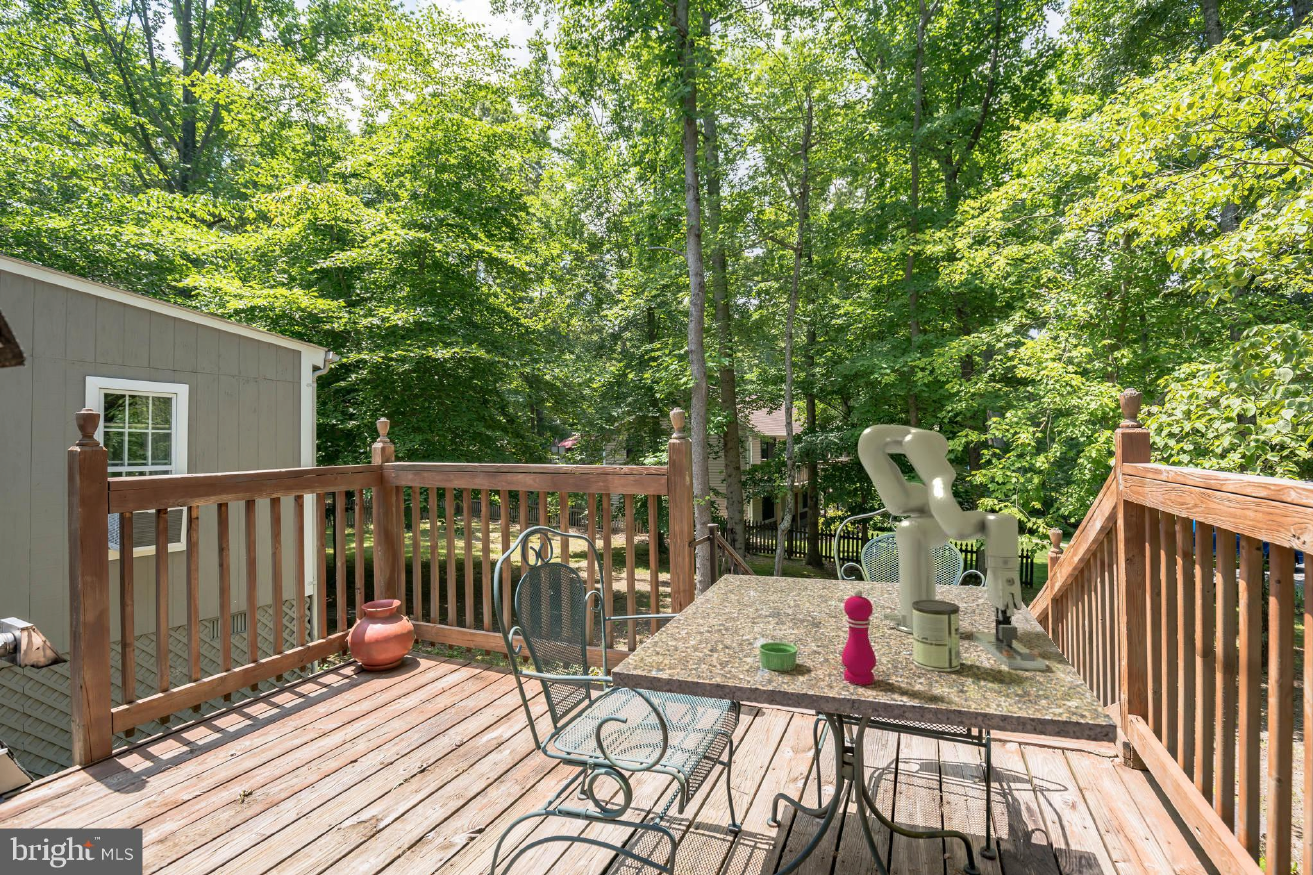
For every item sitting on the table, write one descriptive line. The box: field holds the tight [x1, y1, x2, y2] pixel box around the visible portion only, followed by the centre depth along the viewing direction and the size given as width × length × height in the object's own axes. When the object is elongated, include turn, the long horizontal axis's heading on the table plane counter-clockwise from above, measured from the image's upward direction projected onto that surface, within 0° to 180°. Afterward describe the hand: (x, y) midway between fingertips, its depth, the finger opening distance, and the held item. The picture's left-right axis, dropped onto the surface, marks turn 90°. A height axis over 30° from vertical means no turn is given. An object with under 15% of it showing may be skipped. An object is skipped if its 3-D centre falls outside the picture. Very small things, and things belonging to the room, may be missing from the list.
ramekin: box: [758, 641, 799, 671], centre depth 153 cm, size 9×9×4 cm
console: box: [972, 632, 1046, 671], centre depth 161 cm, size 8×23×4 cm, turn 173°
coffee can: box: [912, 599, 961, 673], centre depth 153 cm, size 10×10×14 cm
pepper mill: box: [841, 588, 877, 686], centre depth 143 cm, size 7×7×20 cm
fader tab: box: [999, 624, 1018, 645], centre depth 161 cm, size 4×2×5 cm, turn 83°
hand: (1003, 635), depth 164 cm, fingers closed
